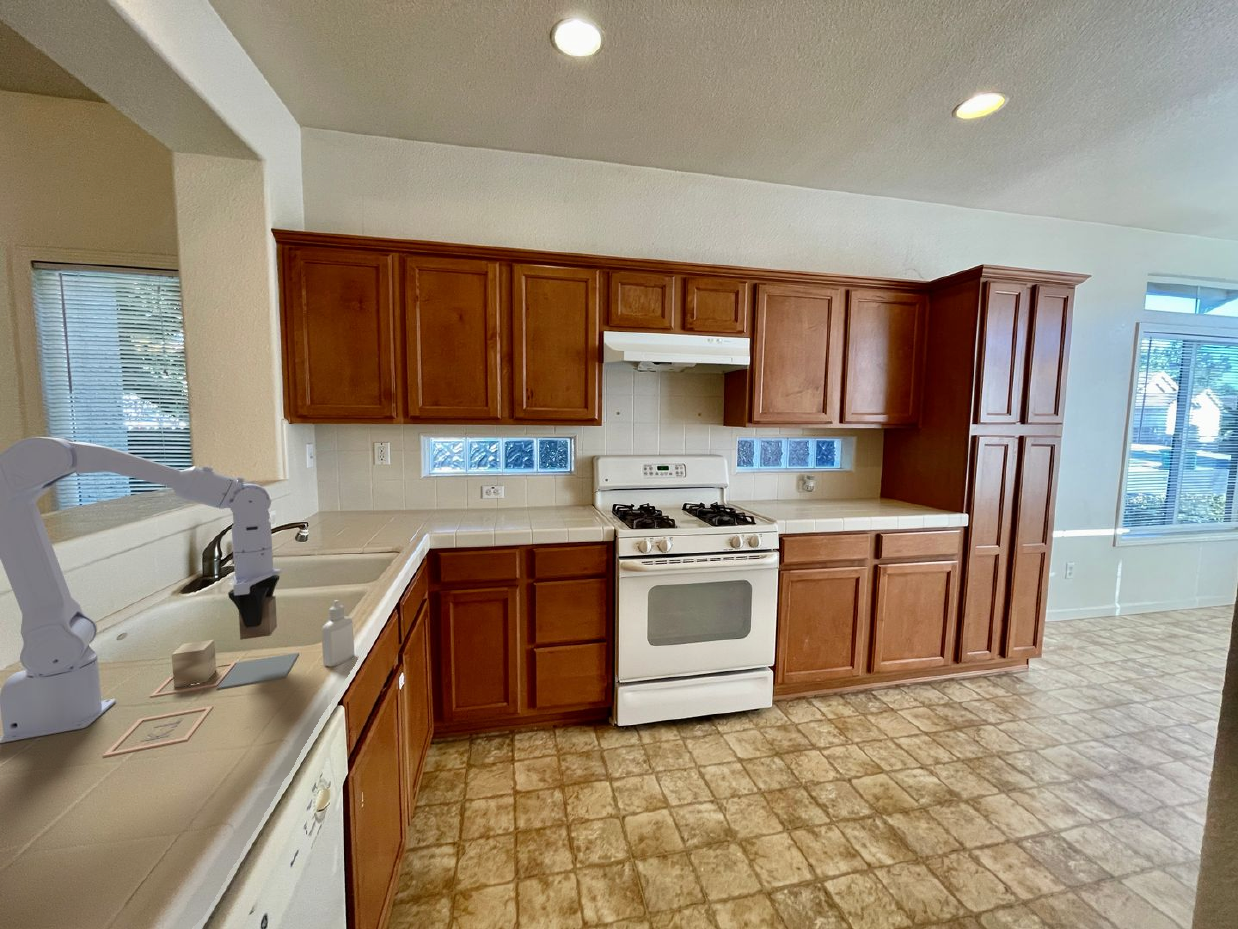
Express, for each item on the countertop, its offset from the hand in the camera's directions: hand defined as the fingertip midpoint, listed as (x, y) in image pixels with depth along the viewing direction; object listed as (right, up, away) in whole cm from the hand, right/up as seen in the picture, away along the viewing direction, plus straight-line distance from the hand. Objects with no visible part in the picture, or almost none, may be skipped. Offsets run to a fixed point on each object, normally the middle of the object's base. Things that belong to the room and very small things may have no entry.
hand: (257, 621), depth 89 cm
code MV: (-10, -10, -2) cm, 14 cm away
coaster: (0, -10, +1) cm, 10 cm away
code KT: (-1, -11, -17) cm, 20 cm away
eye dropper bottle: (+12, -9, +5) cm, 16 cm away
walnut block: (0, -2, 0) cm, 2 cm away
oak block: (-10, -10, -2) cm, 14 cm away
